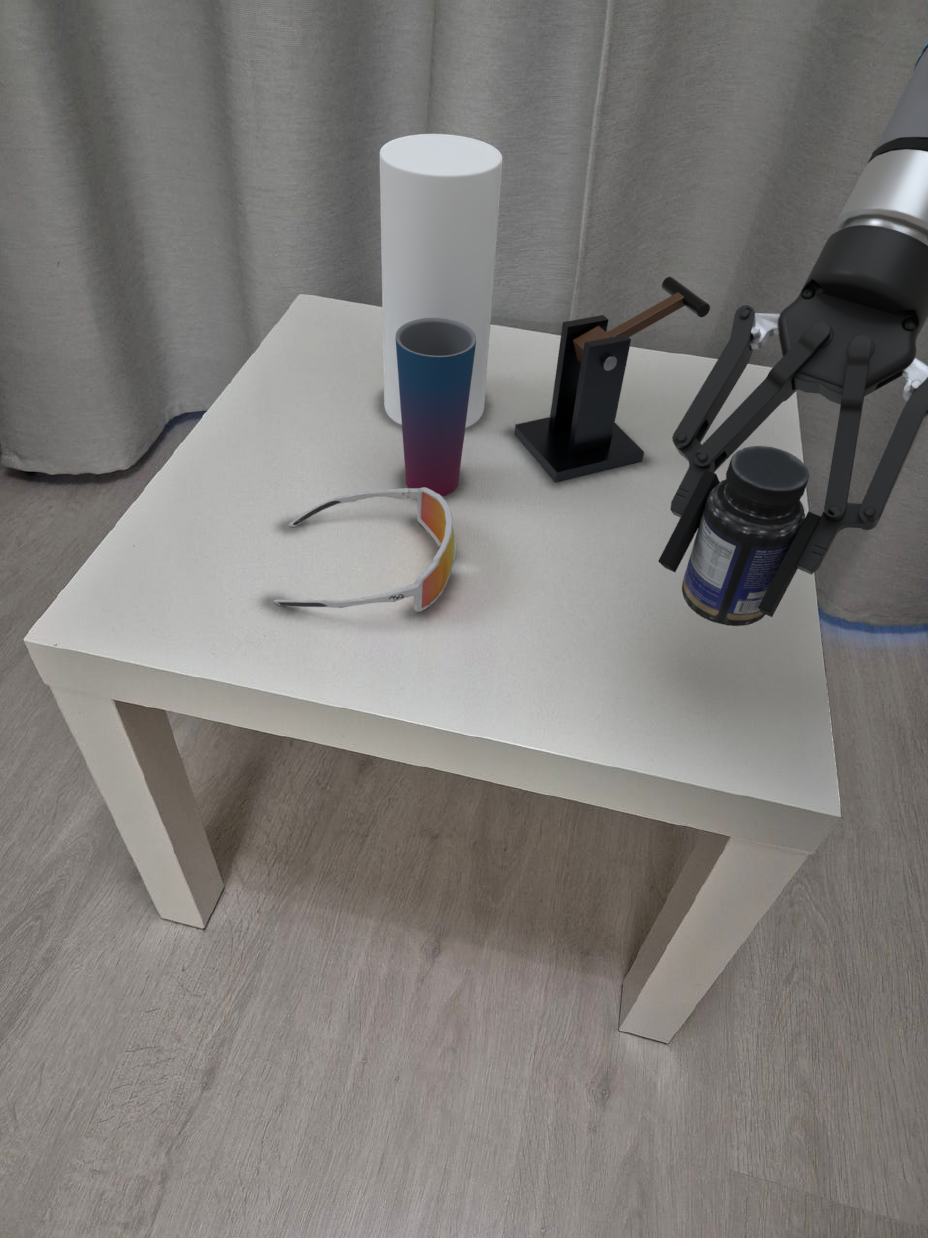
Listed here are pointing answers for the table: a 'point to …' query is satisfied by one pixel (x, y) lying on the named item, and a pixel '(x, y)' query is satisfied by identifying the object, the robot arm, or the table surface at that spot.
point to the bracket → (583, 408)
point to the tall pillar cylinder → (438, 245)
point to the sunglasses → (433, 579)
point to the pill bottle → (745, 535)
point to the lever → (649, 315)
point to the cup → (434, 399)
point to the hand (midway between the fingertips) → (715, 588)
